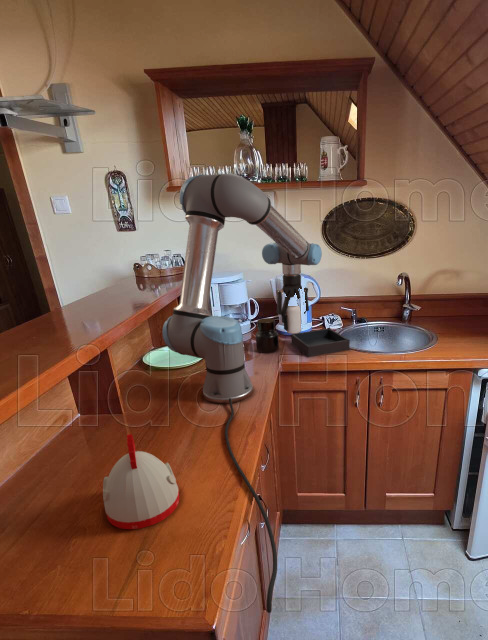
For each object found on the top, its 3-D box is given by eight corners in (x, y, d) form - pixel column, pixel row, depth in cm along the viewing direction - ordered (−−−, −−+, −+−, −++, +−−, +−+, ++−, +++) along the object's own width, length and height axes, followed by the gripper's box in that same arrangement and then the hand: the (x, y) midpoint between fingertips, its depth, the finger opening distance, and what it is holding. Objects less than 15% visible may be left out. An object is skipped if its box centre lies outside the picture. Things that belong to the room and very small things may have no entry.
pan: (349, 349, 165) (349, 339, 163) (308, 356, 159) (308, 346, 157) (329, 337, 180) (329, 328, 178) (291, 343, 173) (291, 334, 172)
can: (290, 329, 186) (288, 302, 181) (303, 330, 184) (302, 303, 179) (283, 333, 180) (282, 305, 176) (297, 334, 178) (296, 307, 173)
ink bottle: (283, 347, 169) (282, 318, 164) (272, 354, 162) (271, 324, 157) (263, 344, 173) (261, 316, 168) (251, 351, 166) (249, 322, 161)
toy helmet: (175, 476, 92) (164, 416, 86) (184, 516, 81) (172, 450, 74) (107, 493, 88) (90, 430, 81) (105, 538, 76) (86, 469, 70)
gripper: (309, 271, 179) (310, 323, 188) (266, 275, 172) (269, 329, 181) (317, 273, 172) (317, 327, 182) (272, 278, 165) (275, 334, 175)
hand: (293, 328), depth 181 cm, fingers closed on can, 6 cm apart
